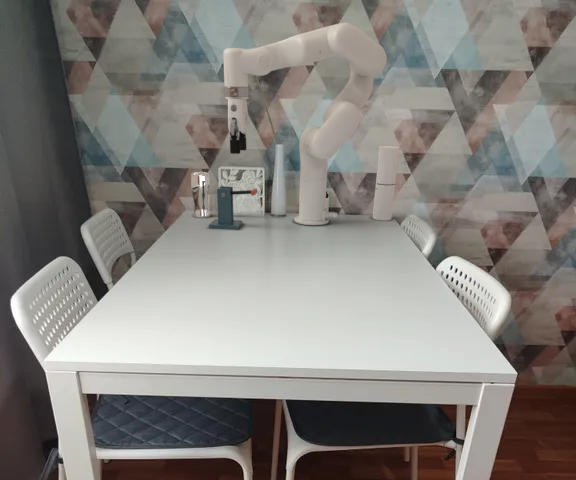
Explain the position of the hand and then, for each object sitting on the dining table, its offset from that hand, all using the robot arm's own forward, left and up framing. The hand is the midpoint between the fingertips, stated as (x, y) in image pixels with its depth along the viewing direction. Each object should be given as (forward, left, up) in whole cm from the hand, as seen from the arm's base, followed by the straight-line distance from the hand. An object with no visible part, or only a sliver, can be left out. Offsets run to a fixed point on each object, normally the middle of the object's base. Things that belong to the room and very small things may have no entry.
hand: (238, 151), depth 182 cm
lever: (0, +3, -14) cm, 14 cm away
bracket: (+4, +3, -24) cm, 24 cm away
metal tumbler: (+16, -11, -24) cm, 31 cm away
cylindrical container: (-51, -22, -24) cm, 60 cm away
